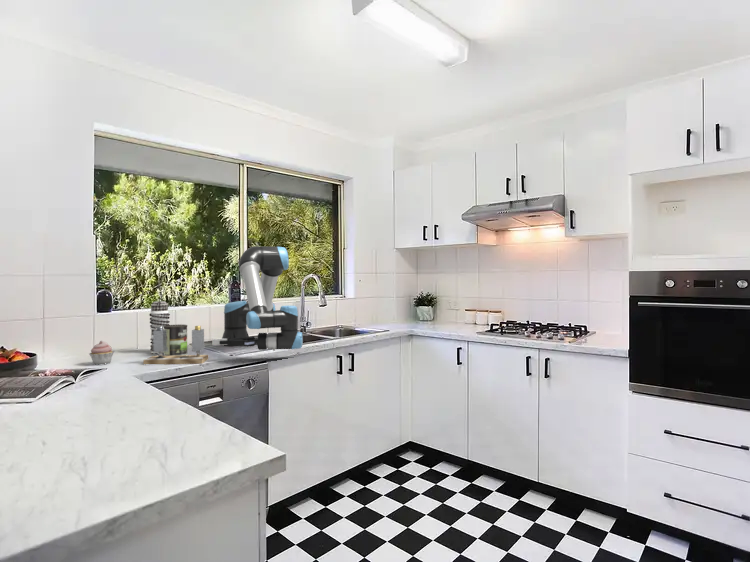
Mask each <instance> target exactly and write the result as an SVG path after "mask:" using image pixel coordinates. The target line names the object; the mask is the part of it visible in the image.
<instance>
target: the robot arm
mask: <svg viewBox="0 0 750 562" xmlns="http://www.w3.org/2000/svg"><path fill="white" fill-rule="evenodd" d="M289 264H290V262H289V253H288V250H287V248H286V247H284V246H283V247H282V246H278V245H277V246H261V245H255V246H254V245H253V246H251V247H249V248H247V249H246V250H244V252H243V253H242V254H241V257H240V258H239V261H238V270H239V274H241V275H242V278H243V284H244V289H245V293H246V299H247V301H246V300H238V301H232V302H228V303H226V304H225V305H224V307H223V310H224V311H223V315H224V316H223V317H224V320H223V322H224V324H223V326H224V330H223V334H222V337H221V338H212V340H211V343H212V344H211V346H224V345H228V346H227V347H247V348H248V347H251V348H253V347H254V346H257V350H259V351H262V350H263V351H265V350H267V349H268V350H272V351H273V352H274V351H276V350H299V349H302V348H303V341H304V340H303V332H302V331H299V329H298V327H299V324H298V323H299V322H298V321H299V315H298V314H299V313H298V307H297V306H296V305H281V306H280V307H279V310H276V305H275V304H274V302H273V298H274V295H275V292H276V291H275V290H276V287H277V283H278V279H279V276H281V275H282V274H283V272H284V271H286V270H288V269H289ZM260 272H261V275H260ZM247 328H248V329H250V330H260V329H275V328H279V329H280V332H278V331H277V332H275V331H274V332H273V331H272V332H268V333H267V332H258V333H257V337H255V336H253V335H252V336H249V333H248V330H247Z"/></svg>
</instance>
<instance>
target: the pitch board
mask: <svg viewBox="0 0 750 562" xmlns="http://www.w3.org/2000/svg"><path fill="white" fill-rule="evenodd" d="M208 360H209V355H208V354H200V356H196V354H187V355H175V356H164V355H162V358H158V355H152V356H150V357H147V358H144V359H143V363H142V364H164V365H196V364H197V365H198V364H199V365H201V364H204V363H205V362H206V361H208Z"/></svg>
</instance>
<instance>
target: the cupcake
mask: <svg viewBox="0 0 750 562" xmlns="http://www.w3.org/2000/svg"><path fill="white" fill-rule="evenodd" d="M114 353H115V351H113V349H112V347H111V346H110V345H109V344H108V342H106V341H103V340H100V341H99V343H97V344H95V345H94V346H93V347H92V348H91V350H90V352H89V353H88V354H89V356H90V358H91V360H92V363H93V365H94V364H104V365H106V364H105V363H109V364H111V361H112V358H113V356H114Z"/></svg>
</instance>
